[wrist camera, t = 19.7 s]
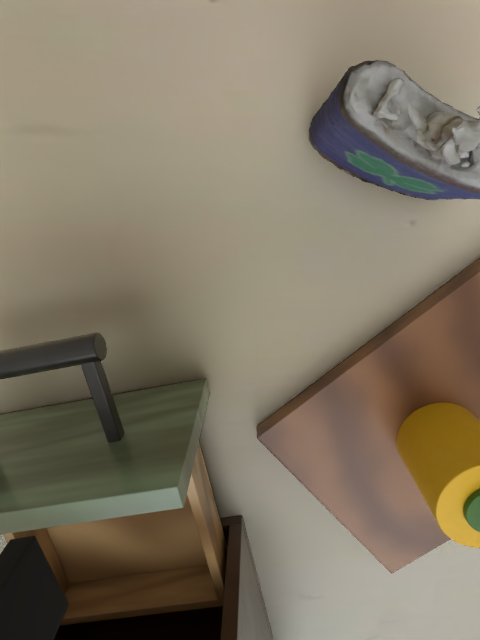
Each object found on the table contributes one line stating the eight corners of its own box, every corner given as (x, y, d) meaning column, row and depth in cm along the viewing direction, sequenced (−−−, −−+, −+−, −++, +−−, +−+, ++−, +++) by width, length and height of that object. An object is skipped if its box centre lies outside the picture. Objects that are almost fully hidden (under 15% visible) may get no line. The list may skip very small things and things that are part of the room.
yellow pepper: (449, 386, 26) (526, 460, 19) (495, 442, 28) (584, 533, 20) (379, 434, 28) (425, 522, 20) (426, 486, 29) (486, 587, 21)
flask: (459, 166, 24) (611, 145, 14) (433, 213, 25) (558, 226, 15) (319, 99, 23) (369, 24, 13) (297, 150, 24) (327, 117, 14)
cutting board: (497, 244, 25) (512, 246, 24) (620, 416, 28) (639, 427, 27) (256, 426, 30) (256, 438, 28) (385, 557, 33) (391, 574, 31)
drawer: (-52, 339, 28) (-236, 425, 17) (184, 292, 26) (138, 356, 16) (54, 579, 34) (-35, 749, 24) (250, 553, 33) (248, 722, 22)
